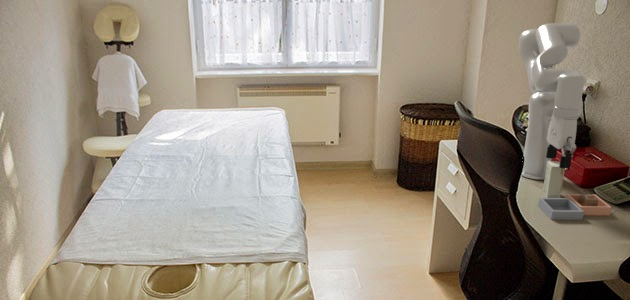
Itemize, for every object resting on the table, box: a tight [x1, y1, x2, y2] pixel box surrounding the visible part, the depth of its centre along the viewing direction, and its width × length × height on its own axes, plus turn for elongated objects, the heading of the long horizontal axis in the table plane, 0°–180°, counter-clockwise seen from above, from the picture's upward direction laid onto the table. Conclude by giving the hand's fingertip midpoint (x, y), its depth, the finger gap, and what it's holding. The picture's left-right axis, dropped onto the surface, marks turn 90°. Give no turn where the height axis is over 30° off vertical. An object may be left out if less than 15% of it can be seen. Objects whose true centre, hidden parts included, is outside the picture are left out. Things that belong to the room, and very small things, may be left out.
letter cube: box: [578, 193, 598, 206], centre depth 159 cm, size 4×4×4 cm
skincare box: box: [542, 160, 566, 198], centre depth 167 cm, size 6×4×12 cm
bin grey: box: [537, 197, 585, 221], centre depth 156 cm, size 10×10×4 cm
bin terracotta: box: [565, 193, 612, 216], centre depth 159 cm, size 10×10×4 cm
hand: (557, 162), depth 164 cm, fingers open, 9 cm apart
